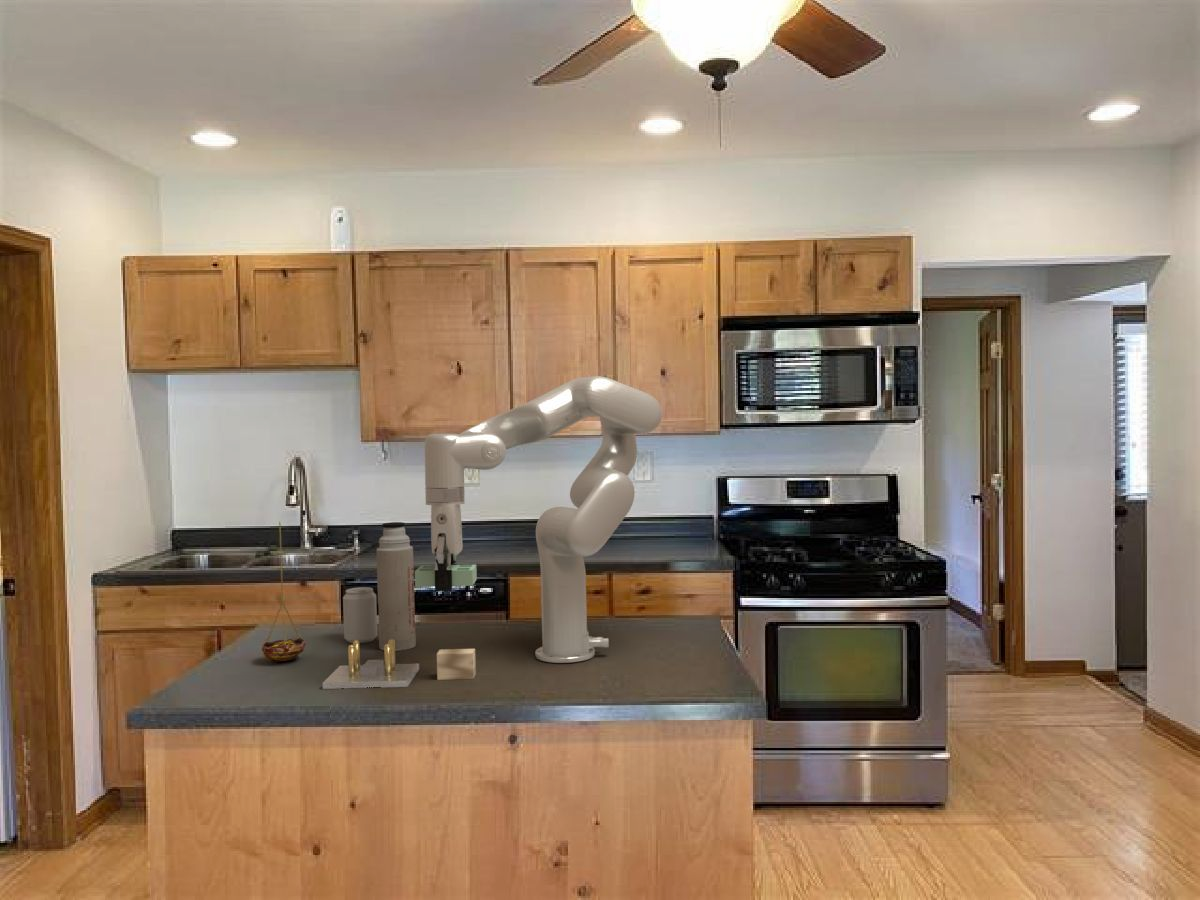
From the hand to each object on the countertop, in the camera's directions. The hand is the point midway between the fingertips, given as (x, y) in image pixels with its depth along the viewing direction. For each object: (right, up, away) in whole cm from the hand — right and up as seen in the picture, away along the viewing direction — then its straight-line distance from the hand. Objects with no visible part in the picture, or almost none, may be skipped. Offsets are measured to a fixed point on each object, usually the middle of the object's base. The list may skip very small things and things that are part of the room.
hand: (446, 586), depth 175 cm
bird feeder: (-37, -19, +16) cm, 44 cm away
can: (-26, -18, +33) cm, 45 cm away
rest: (+2, -18, +1) cm, 18 cm away
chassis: (-15, -18, 0) cm, 23 cm away
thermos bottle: (-16, -18, +26) cm, 35 cm away
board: (0, +1, 0) cm, 1 cm away
